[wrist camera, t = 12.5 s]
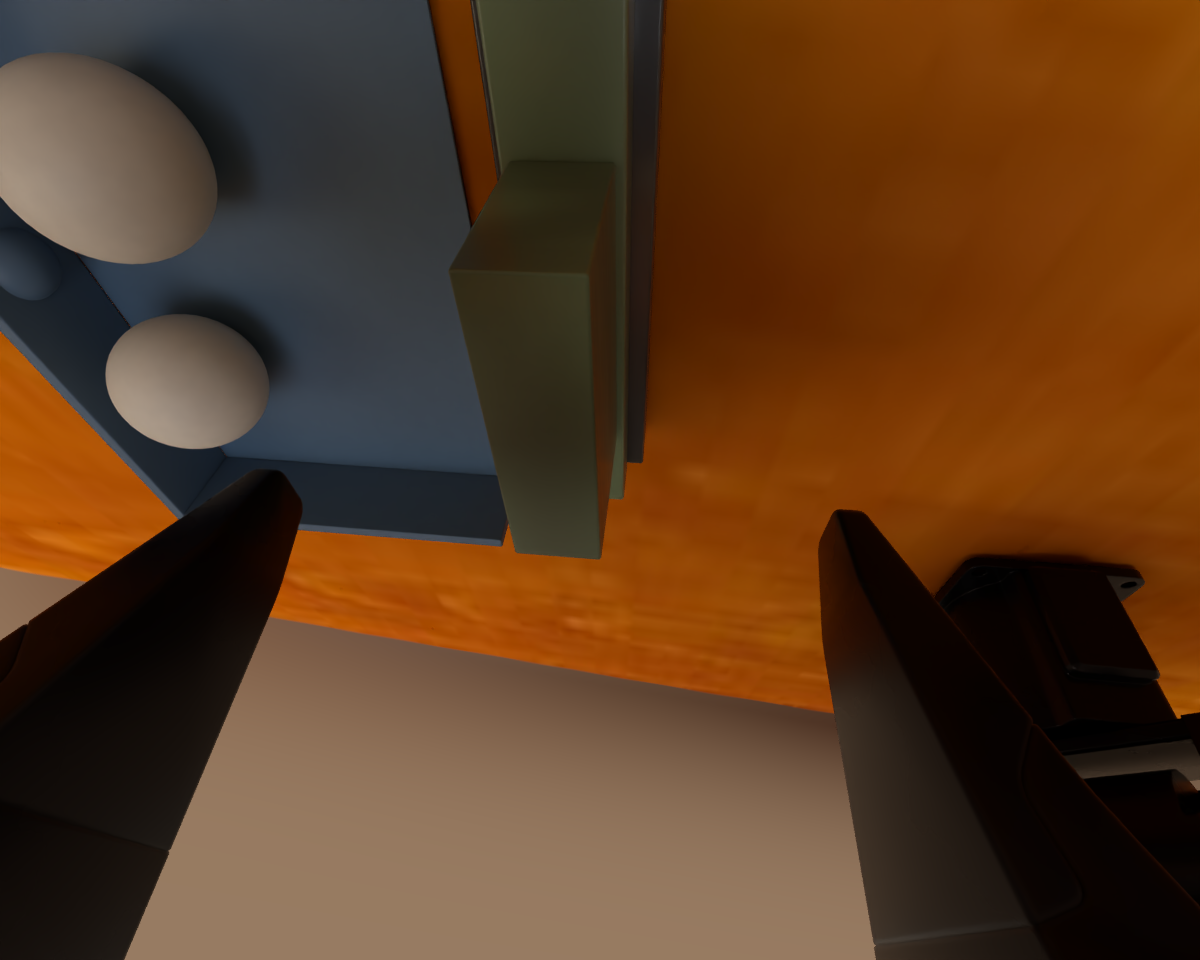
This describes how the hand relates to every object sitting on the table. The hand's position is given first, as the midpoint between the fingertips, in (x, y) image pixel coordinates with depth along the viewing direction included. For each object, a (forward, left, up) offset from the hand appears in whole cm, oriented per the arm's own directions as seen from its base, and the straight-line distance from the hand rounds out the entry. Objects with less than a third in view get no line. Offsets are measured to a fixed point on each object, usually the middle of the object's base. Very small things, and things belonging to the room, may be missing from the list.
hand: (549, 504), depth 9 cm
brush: (0, 0, -8) cm, 9 cm away
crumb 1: (+3, +9, -8) cm, 13 cm away
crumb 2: (-4, +11, -8) cm, 14 cm away
